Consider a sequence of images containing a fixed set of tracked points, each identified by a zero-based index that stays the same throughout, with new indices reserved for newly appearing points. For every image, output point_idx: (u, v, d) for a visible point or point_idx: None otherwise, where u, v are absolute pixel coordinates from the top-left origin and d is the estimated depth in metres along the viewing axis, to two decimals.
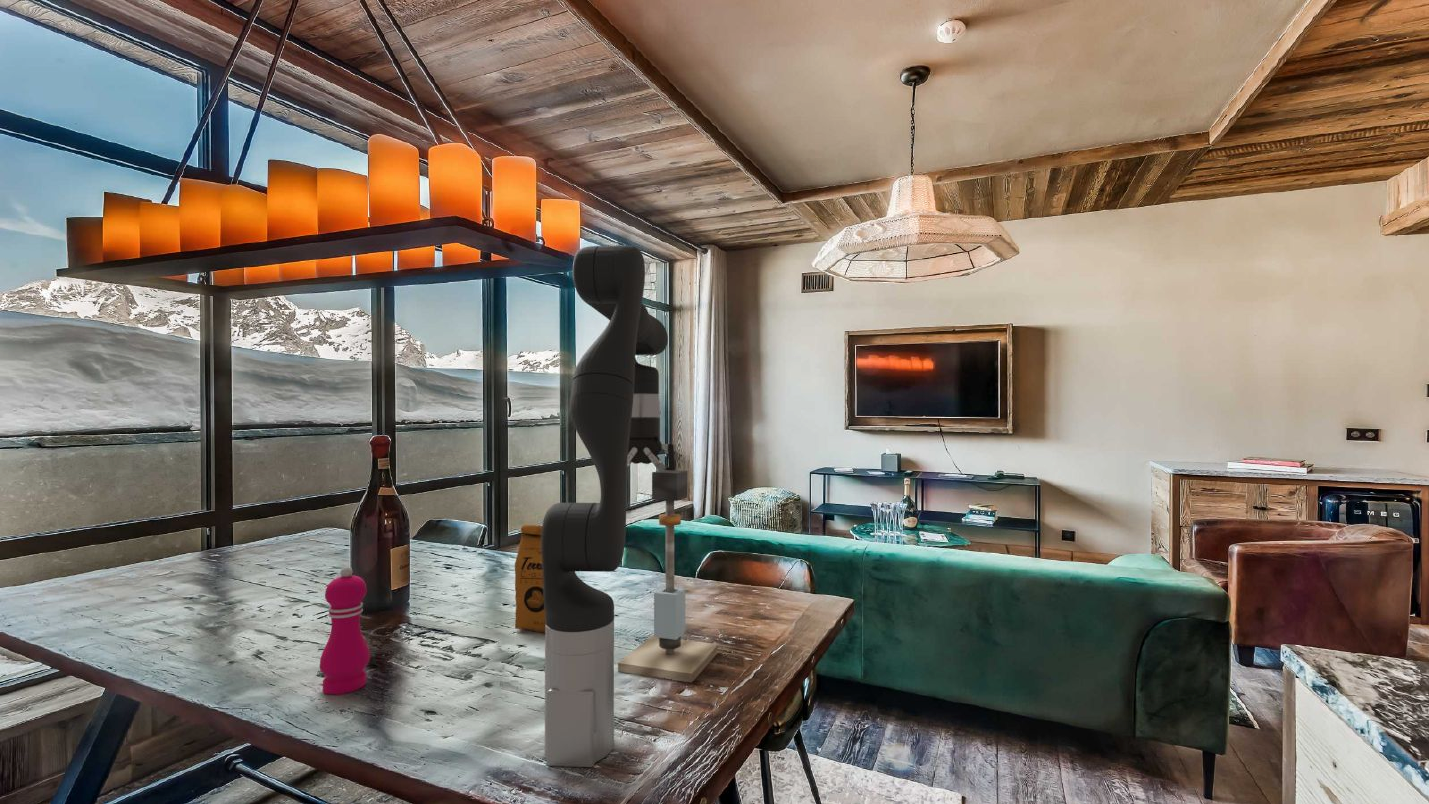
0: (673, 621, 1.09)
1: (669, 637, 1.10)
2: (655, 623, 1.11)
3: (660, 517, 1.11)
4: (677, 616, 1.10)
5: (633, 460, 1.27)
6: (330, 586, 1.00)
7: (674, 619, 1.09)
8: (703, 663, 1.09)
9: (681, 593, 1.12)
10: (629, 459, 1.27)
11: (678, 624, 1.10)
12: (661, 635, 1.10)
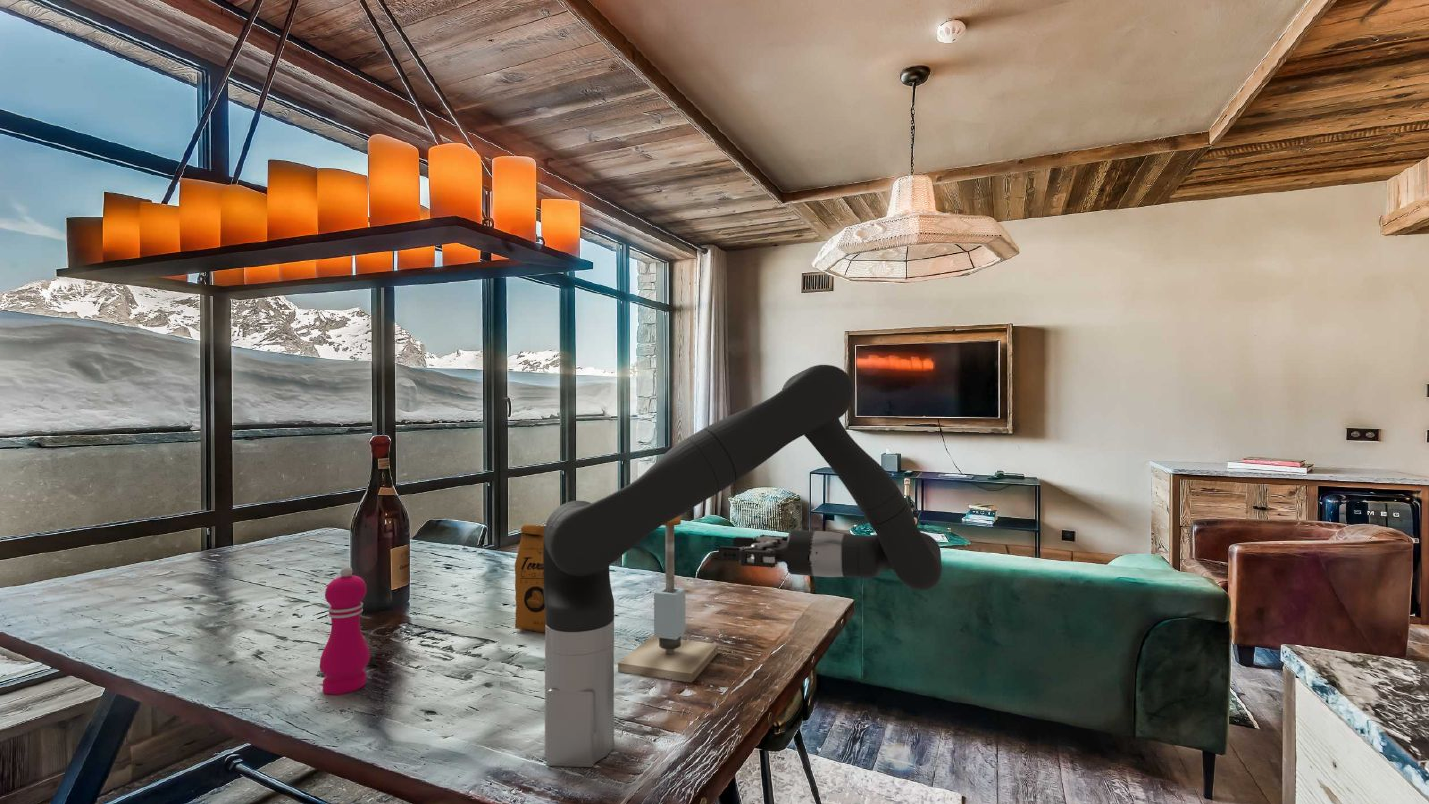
0: (673, 621, 1.09)
1: (669, 637, 1.10)
2: (655, 623, 1.11)
3: None
4: (677, 616, 1.10)
5: (765, 541, 1.08)
6: (330, 586, 1.00)
7: (674, 619, 1.09)
8: (703, 663, 1.09)
9: (681, 593, 1.12)
10: (767, 537, 1.09)
11: (678, 624, 1.10)
12: (661, 635, 1.10)
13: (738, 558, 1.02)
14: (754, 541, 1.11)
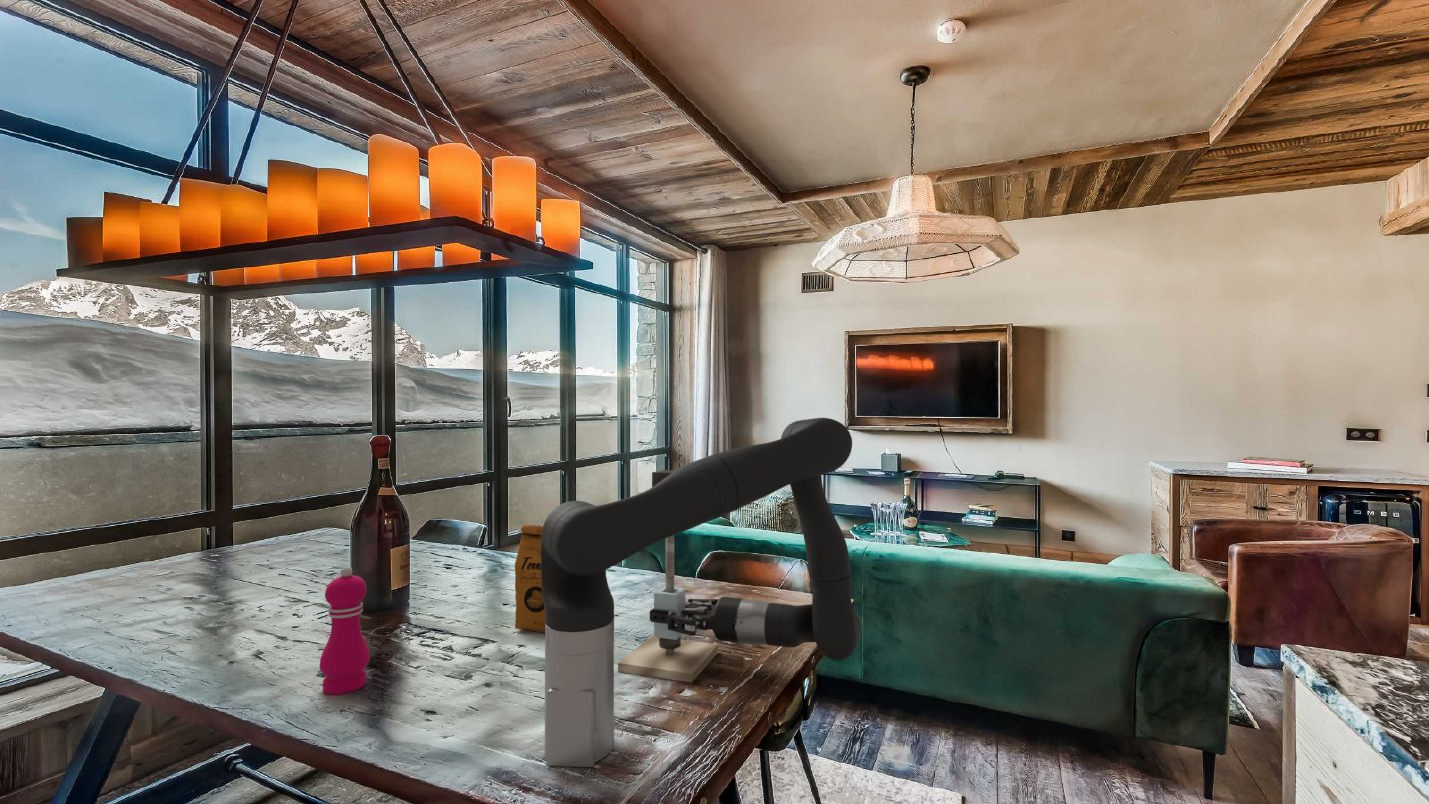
0: None
1: (669, 637, 1.10)
2: (655, 623, 1.11)
3: None
4: None
5: (696, 607, 1.11)
6: (330, 586, 1.00)
7: None
8: (703, 663, 1.09)
9: (681, 593, 1.12)
10: (697, 603, 1.12)
11: None
12: (661, 635, 1.10)
13: (666, 621, 1.08)
14: None
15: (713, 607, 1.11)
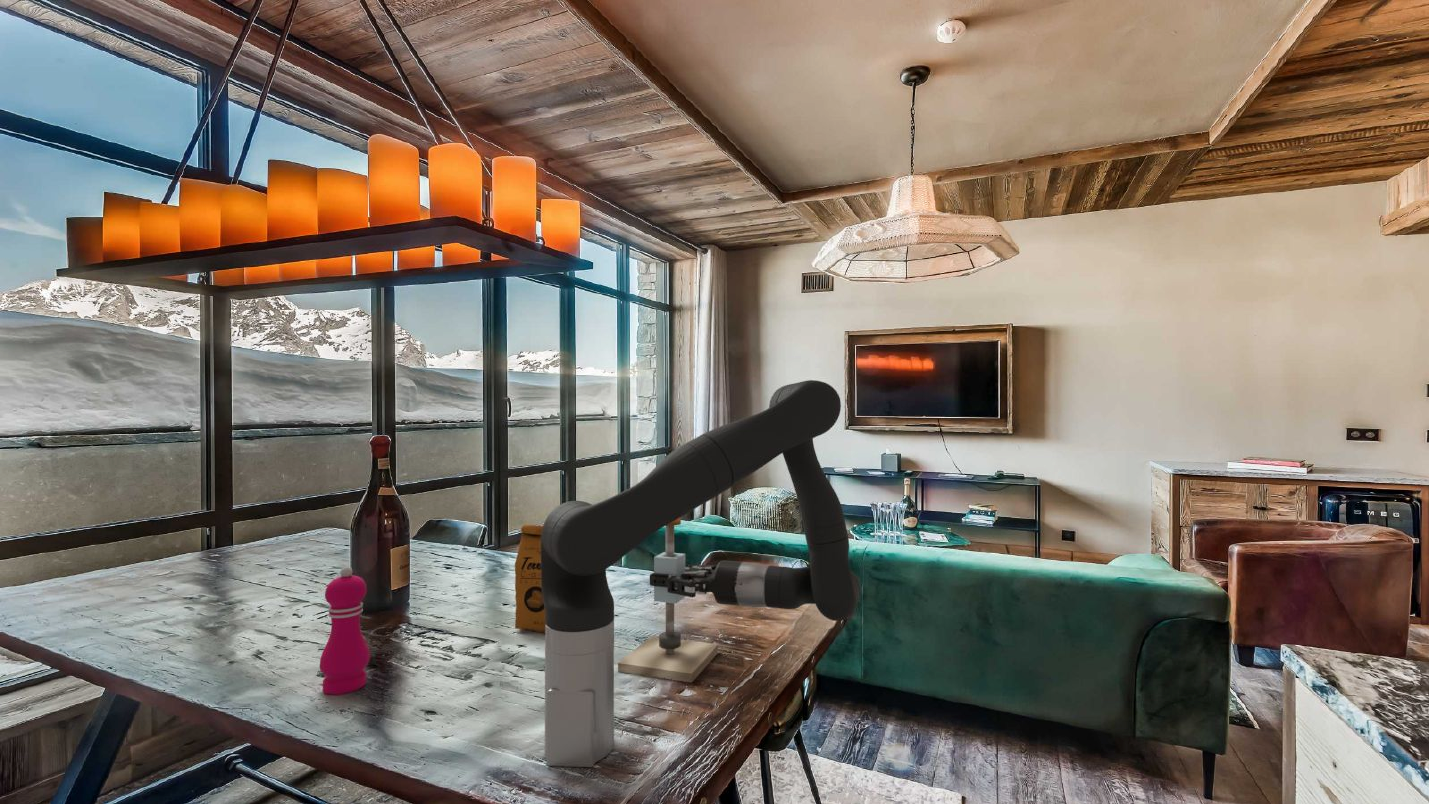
0: None
1: (669, 601, 1.10)
2: (655, 587, 1.11)
3: None
4: None
5: (696, 572, 1.11)
6: (330, 586, 1.00)
7: None
8: (703, 663, 1.09)
9: (681, 557, 1.12)
10: (697, 567, 1.12)
11: None
12: (661, 599, 1.10)
13: (666, 584, 1.09)
14: None
15: (713, 572, 1.12)
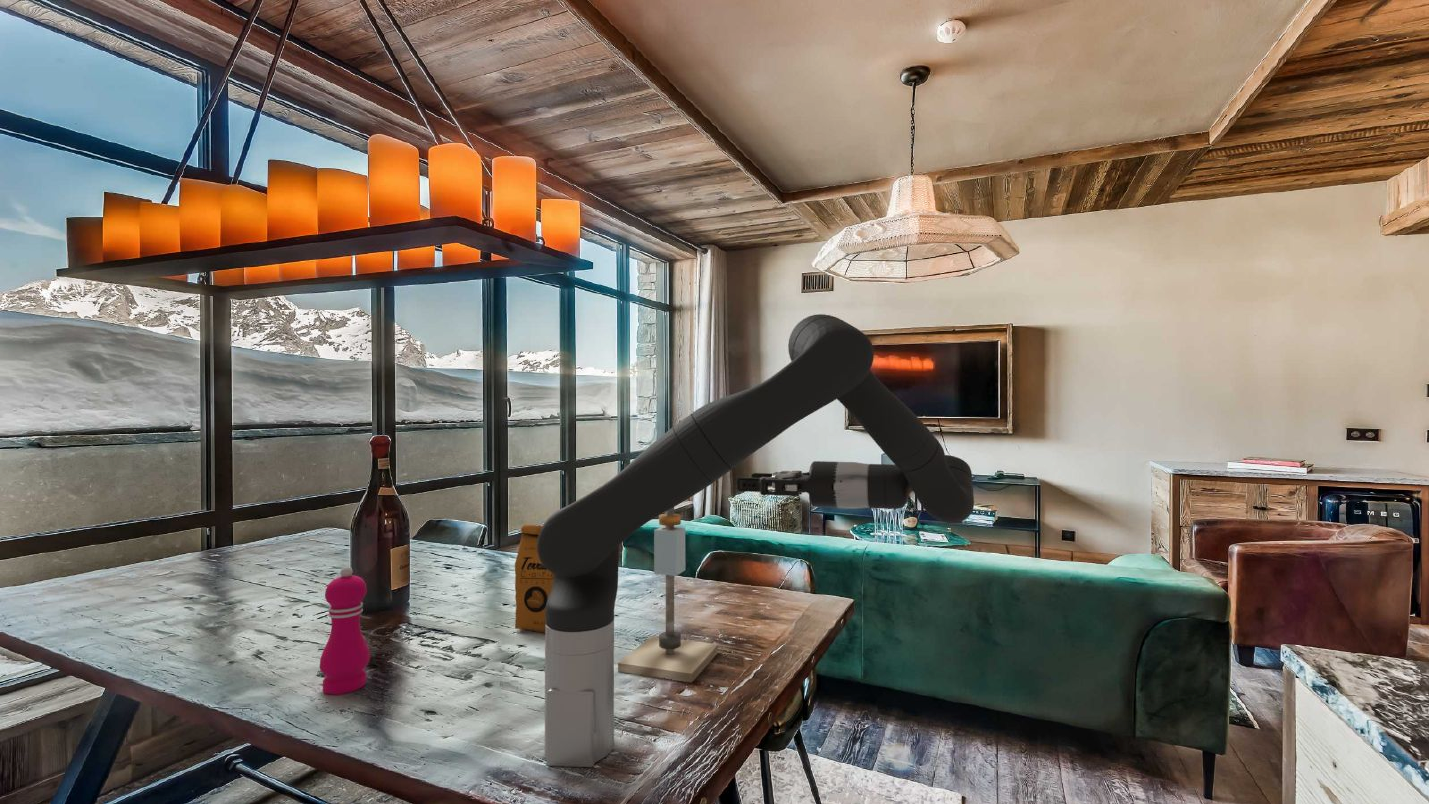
0: (673, 557, 1.10)
1: (669, 573, 1.10)
2: (655, 560, 1.11)
3: (660, 517, 1.11)
4: (677, 553, 1.10)
5: None
6: (330, 586, 1.00)
7: (674, 555, 1.10)
8: (703, 663, 1.09)
9: (681, 530, 1.12)
10: (788, 471, 1.04)
11: (678, 560, 1.11)
12: (661, 572, 1.10)
13: (758, 488, 0.98)
14: None
15: (803, 475, 1.03)
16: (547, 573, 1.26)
